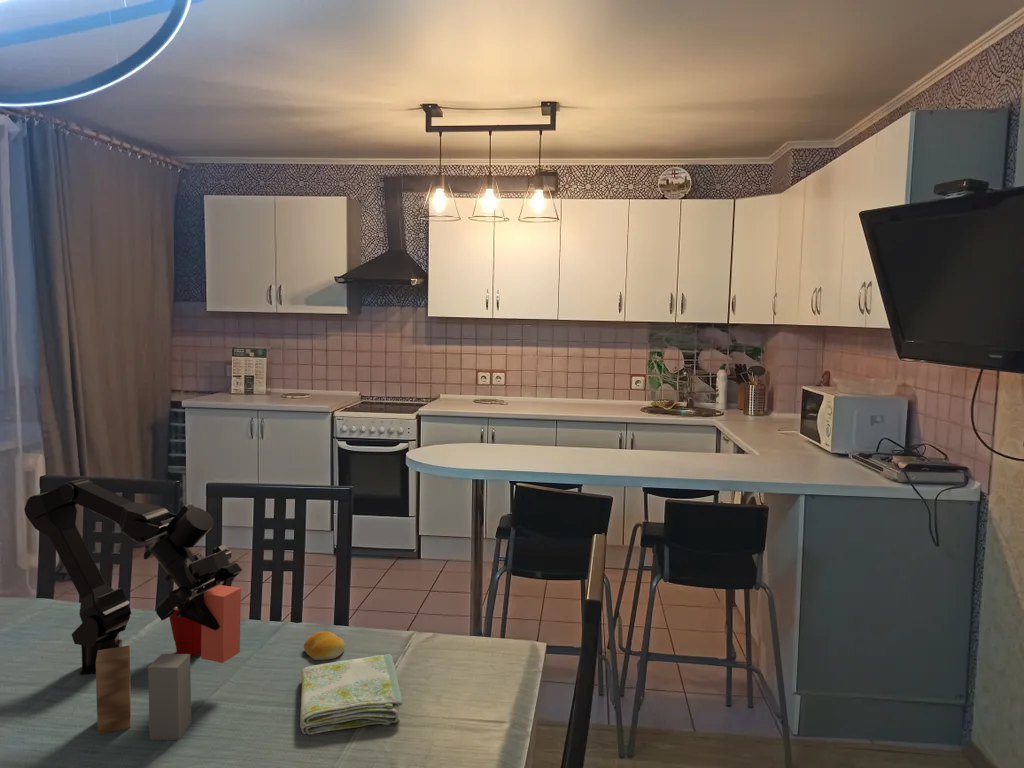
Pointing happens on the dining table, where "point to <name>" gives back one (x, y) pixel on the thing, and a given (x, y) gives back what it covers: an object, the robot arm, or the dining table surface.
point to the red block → (222, 624)
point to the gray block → (169, 696)
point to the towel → (349, 694)
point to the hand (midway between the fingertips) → (227, 623)
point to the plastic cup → (186, 635)
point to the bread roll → (324, 646)
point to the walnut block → (113, 689)
